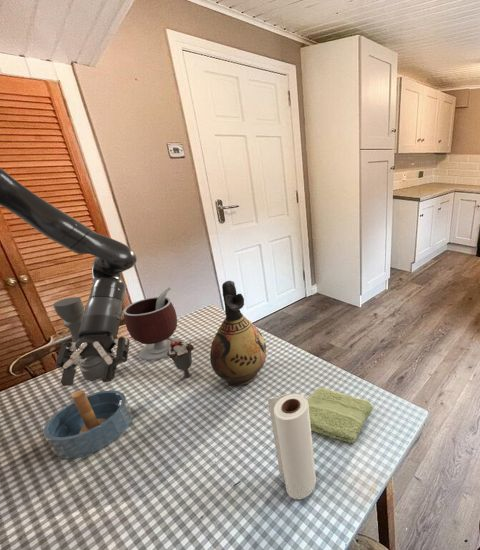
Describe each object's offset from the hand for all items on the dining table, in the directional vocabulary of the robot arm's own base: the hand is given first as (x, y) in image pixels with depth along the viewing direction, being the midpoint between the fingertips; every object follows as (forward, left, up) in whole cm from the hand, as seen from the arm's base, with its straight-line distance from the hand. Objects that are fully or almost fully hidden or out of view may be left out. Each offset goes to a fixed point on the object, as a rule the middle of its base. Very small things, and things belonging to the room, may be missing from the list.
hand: (87, 383), depth 72 cm
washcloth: (+57, -12, -13) cm, 59 cm away
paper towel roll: (+48, -27, -13) cm, 56 cm away
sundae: (+16, +13, -13) cm, 24 cm away
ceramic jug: (+32, +11, -13) cm, 36 cm away
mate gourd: (+3, +32, -13) cm, 34 cm away
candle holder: (-12, +22, -13) cm, 28 cm away
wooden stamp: (0, -3, -12) cm, 12 cm away
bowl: (0, -3, -12) cm, 13 cm away
